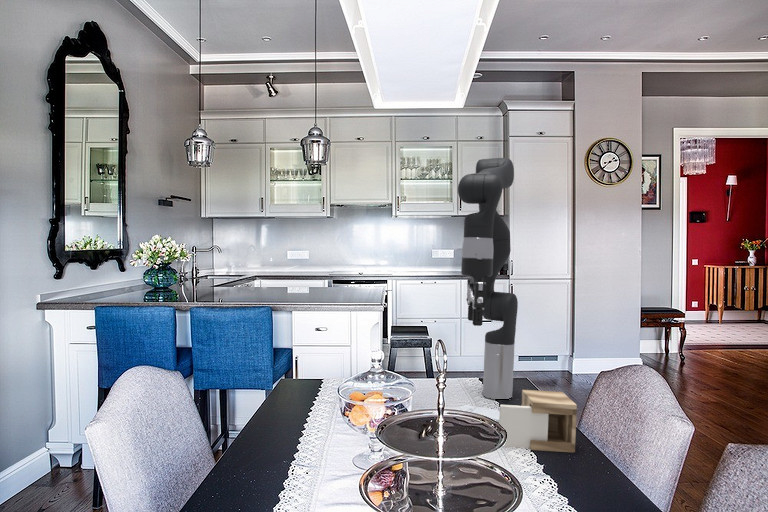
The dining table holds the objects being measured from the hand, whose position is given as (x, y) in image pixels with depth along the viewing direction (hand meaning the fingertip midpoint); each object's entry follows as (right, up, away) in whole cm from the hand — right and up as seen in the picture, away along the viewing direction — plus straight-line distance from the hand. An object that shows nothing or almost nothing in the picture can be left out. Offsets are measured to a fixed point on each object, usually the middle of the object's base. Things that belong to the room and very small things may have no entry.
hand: (474, 322), depth 124 cm
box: (+17, -29, -1) cm, 34 cm away
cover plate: (+10, -29, -4) cm, 31 cm away
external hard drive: (+5, -29, +18) cm, 34 cm away
